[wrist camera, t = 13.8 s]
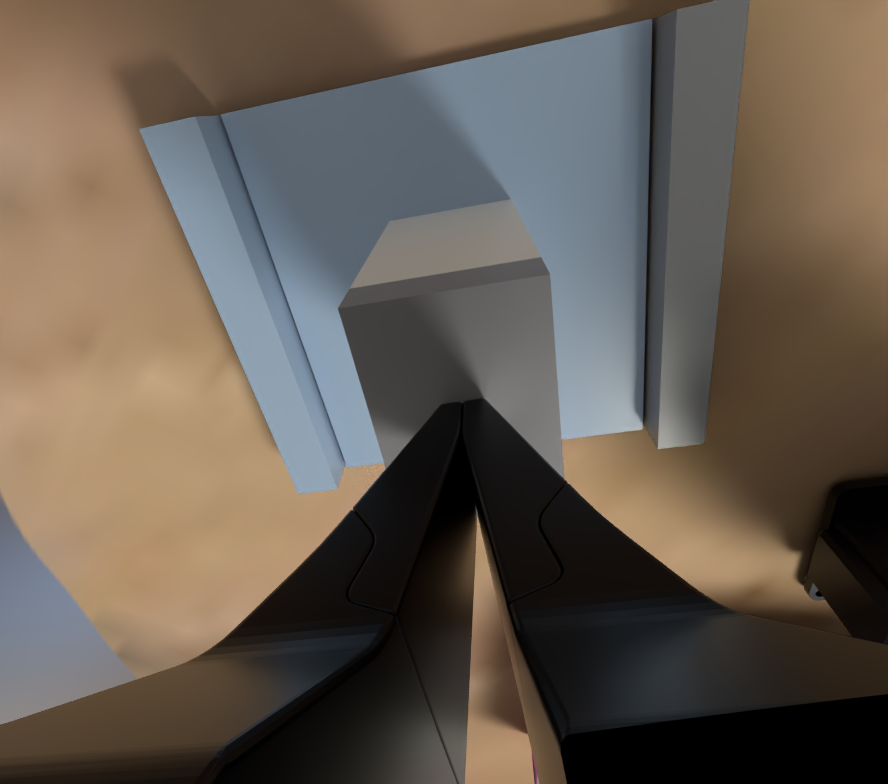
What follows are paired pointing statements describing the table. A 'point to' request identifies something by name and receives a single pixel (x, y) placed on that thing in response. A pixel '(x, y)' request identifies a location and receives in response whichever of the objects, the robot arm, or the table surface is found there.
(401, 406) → the grey chamfered block
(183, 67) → the table surface
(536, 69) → the rail tray
